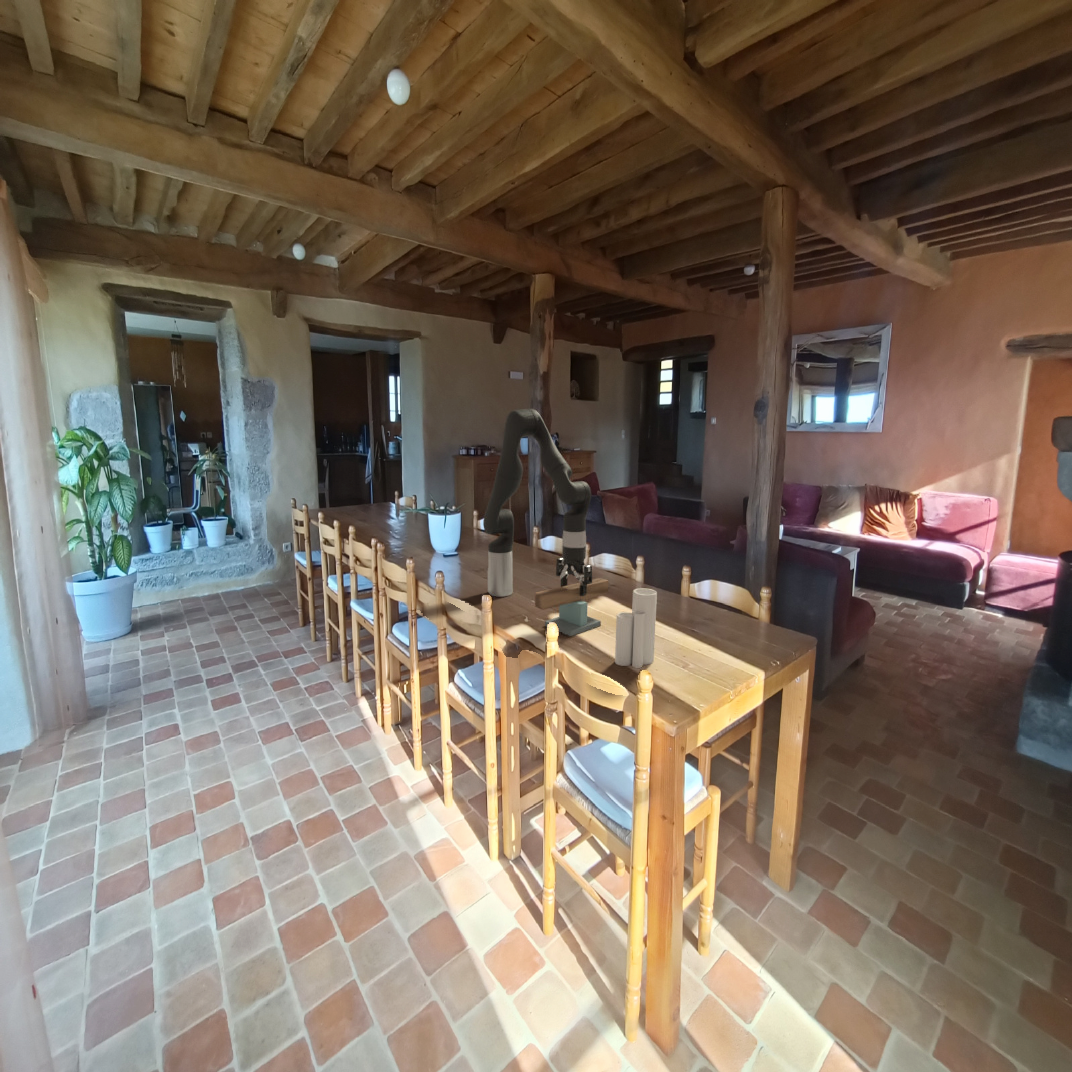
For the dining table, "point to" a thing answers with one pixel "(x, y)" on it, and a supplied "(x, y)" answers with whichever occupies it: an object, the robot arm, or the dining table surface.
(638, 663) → the grey joined cylinders
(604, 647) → the dining table surface
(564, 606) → the stand
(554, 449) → the robot arm
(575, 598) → the walnut rod
